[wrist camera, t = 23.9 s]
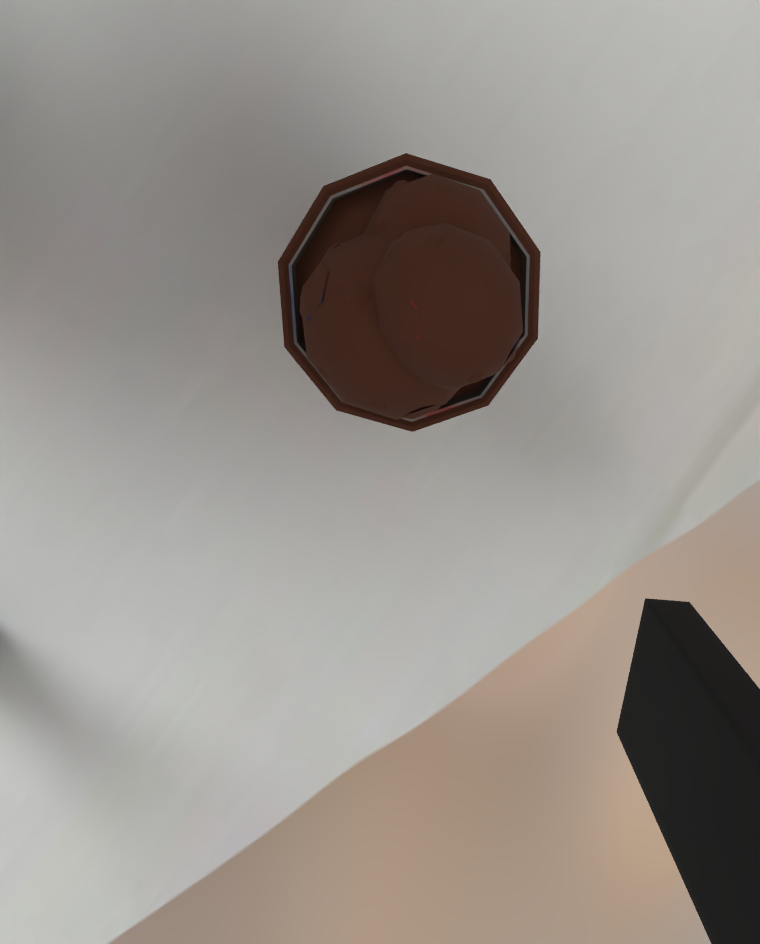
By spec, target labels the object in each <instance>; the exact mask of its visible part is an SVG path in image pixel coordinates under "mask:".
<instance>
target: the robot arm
mask: <svg viewBox="0 0 760 944" xmlns="http://www.w3.org/2000/svg"><path fill="white" fill-rule="evenodd" d="M617 734H618V736H619V738H620V740H621V742H622V745H623V747H624V749H625V751H626V754H627V756H628V758H629V760H630V763H631V765H632V767H633V769H634V772H635V774H636V776H637V778H638V780H639V783H640V785H641V787H642V789H643V792H644V794H645V796H646V798H647V801H648V802H649V805H650V807H651V810H652V812H653V814H654V816H655V819H656V821H657V823H658V825H659V827H660V830H661V832H662V834H663V836H664V839H665V841H666V843H667V845H668V848H669V850H670V852H671V854H672V856H673V859H674V861H675V863H676V865H677V868H678V870H679V872H680V874H681V877H682V879H683V881H684V883H685V886H686V888H687V890H688V892H689V895H690V897H691V899H692V901H693V903H694V906H695V908H696V910H697V912H698V915H699V917H700V919H701V921H702V924H703V926H704V928H705V930H706V932H707V935H708V937H709V939H710V941H711V943H712V944H760V689H759V688H758V686H757V685H756V684H755V683H754V682H753V680H752V679H751V678H750V677H749V675H748V674H747V673H746V672H745V670H744V669H743V668H742V667H741V665H740V664H739V663H738V662H737V660H736V659H735V658H734V657H733V655H732V654H731V653H730V652H729V651H728V649H727V648H726V647H725V646H724V644H723V643H722V642H721V641H720V639H719V638H718V637H717V636H716V635H715V633H714V632H713V631H712V630H711V628H710V627H709V626H708V625H707V623H706V622H705V621H704V620H703V618H702V617H701V616H700V615H699V614H698V612H697V611H696V610H695V609H694V607H693V606H692V605H691V604H690V602H681V601H669V600H657V599H645V602H644V607H643V612H642V616H641V621H640V626H639V630H638V635H637V639H636V644H635V649H634V653H633V658H632V663H631V667H630V672H629V677H628V681H627V686H626V691H625V696H624V701H623V705H622V709H621V714H620V719H619V723H618V728H617Z"/></svg>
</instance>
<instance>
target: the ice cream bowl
mask: <svg viewBox="0 0 760 944" xmlns="http://www.w3.org/2000/svg"><path fill="white" fill-rule="evenodd" d="M278 269H279V282H280V295H281V307H282V320H283V333H284V346H285V348H286V349H287V351H288V352H289V353H290V354H291V355H292V357H293V358H294V359H295V360H296V362H297V363H298V364H299V365H300V367H301V368H302V369H303V370H304V371H305V373H306V374H307V375H308V376H309V378H310V379H311V380H312V381H313V382H314V384H315V385H316V386H317V387H318V389H319V390H320V391H321V392H322V393H323V395H324V396H325V397H326V398H327V400H328V401H329V402H330V403H331V404H332V406H333V407H334V408H335V409H336V410H337V411H341V412H345V413H348V414H352V415H355V416H359V417H362V418H366V419H369V420H373V421H376V422H380V423H384V424H387V425H391V426H394V427H398V428H401V429H405V430H408V431H412V432H413V431H416V430H419V429H422V428H424V427H427V426H430V425H433V424H436V423H439V422H442V421H445V420H448V419H450V418H453V417H456V416H459V415H462V414H465V413H468V412H471V411H473V410H476V409H479V408H482V407H485V406H488V405H489V404H490V402H491V401H492V400H493V398H494V397H495V396H496V394H497V393H498V391H499V390H500V389H501V387H502V386H503V385H504V383H505V382H506V381H507V379H508V378H509V377H510V375H511V374H512V372H513V371H514V370H515V368H516V367H517V366H518V364H519V363H520V362H521V360H522V359H523V358H524V356H525V355H526V353H527V352H528V351H529V349H530V348H531V347H532V345H533V344H534V343H535V341H536V340H537V339H538V310H539V278H540V251H539V249H538V248H537V246H536V245H535V244H534V242H533V241H532V239H531V238H530V236H529V235H528V233H527V232H526V230H525V229H524V228H523V226H522V225H521V223H520V222H519V220H518V219H517V217H516V216H515V214H514V213H513V212H512V210H511V209H510V207H509V206H508V204H507V203H506V201H505V200H504V198H503V197H502V196H501V194H500V193H499V191H498V190H497V188H496V187H495V185H494V184H493V182H492V181H491V180H490V179H487V178H484V177H481V176H478V175H474V174H471V173H468V172H465V171H461V170H458V169H455V168H452V167H448V166H445V165H442V164H439V163H435V162H432V161H429V160H426V159H422V158H419V157H416V156H413V155H409V154H403V155H401V156H398V157H396V158H393V159H391V160H388V161H386V162H383V163H381V164H378V165H376V166H373V167H371V168H368V169H366V170H363V171H361V172H358V173H356V174H353V175H351V176H348V177H346V178H343V179H341V180H338V181H336V182H333V183H331V184H328V185H325V186H323V188H322V190H321V191H320V193H319V195H318V196H317V198H316V200H315V201H314V203H313V204H312V206H311V208H310V209H309V211H308V213H307V214H306V216H305V218H304V219H303V221H302V223H301V224H300V226H299V228H298V229H297V231H296V233H295V234H294V236H293V238H292V239H291V241H290V243H289V244H288V246H287V248H286V249H285V251H284V253H283V254H282V256H281V258H280V259H279V261H278Z"/></svg>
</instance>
